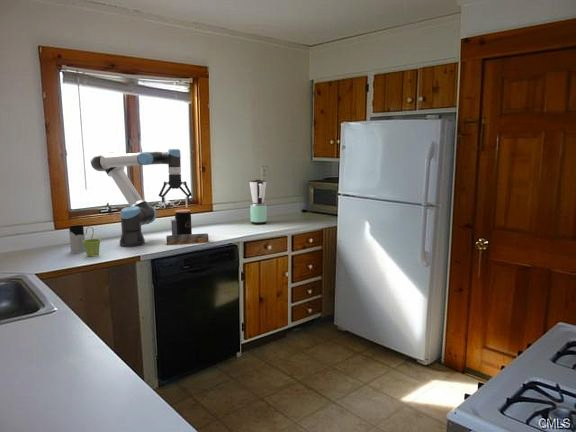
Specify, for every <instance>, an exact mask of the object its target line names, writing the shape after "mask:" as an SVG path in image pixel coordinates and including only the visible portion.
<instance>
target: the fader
mask: <svg viewBox="0 0 576 432" xmlns="http://www.w3.org/2000/svg"><path fill="white" fill-rule="evenodd" d="M170 221H171V235H172V237H177V225H176V220H175V219H171V220H170Z"/></svg>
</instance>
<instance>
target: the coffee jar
mask: <svg viewBox="0 0 576 432" xmlns="http://www.w3.org/2000/svg"><path fill="white" fill-rule="evenodd" d="M191 210H192V209H187V208H185V209H183V208H182V209H176V210H174V213H175V214H174V220H176V225H177V235H187V234H193V231H192V216H191V215H192V214H191Z"/></svg>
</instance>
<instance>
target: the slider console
mask: <svg viewBox="0 0 576 432" xmlns="http://www.w3.org/2000/svg"><path fill="white" fill-rule="evenodd" d="M165 237H166V241H165V242H166V245H167V246H168V245H169V246H171V245H189V244H202V243H204V244H205V243H210V240H209V234H208V233H206V232H205V233H192V234H187V235H177V237H172V234H171V235H166V236H165Z"/></svg>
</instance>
